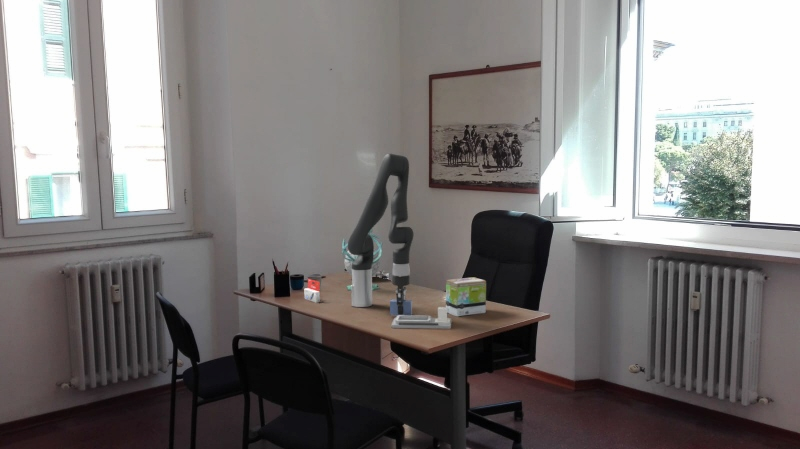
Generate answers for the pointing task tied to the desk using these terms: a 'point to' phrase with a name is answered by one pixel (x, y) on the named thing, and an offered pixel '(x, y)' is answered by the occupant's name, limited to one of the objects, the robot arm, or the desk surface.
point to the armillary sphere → (374, 286)
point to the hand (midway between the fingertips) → (401, 312)
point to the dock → (423, 321)
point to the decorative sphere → (349, 263)
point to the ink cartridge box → (312, 291)
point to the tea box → (465, 296)
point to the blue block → (406, 307)
